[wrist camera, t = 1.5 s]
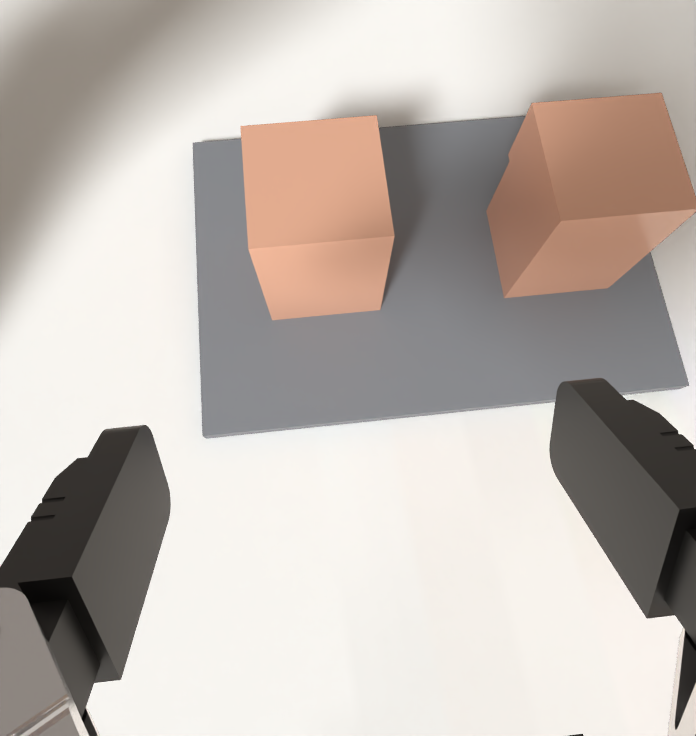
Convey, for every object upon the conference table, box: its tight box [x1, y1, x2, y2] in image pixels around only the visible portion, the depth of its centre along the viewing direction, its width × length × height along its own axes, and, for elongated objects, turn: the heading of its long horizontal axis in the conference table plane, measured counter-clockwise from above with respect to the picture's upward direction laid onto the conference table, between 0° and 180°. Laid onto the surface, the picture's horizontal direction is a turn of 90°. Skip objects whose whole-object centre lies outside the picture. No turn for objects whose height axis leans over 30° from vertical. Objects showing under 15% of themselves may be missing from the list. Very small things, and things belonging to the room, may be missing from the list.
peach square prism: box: [241, 115, 394, 320], centre depth 27 cm, size 6×6×8 cm
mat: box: [193, 116, 689, 438], centre depth 31 cm, size 26×18×1 cm
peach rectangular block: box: [486, 93, 696, 298], centre depth 27 cm, size 6×6×8 cm
